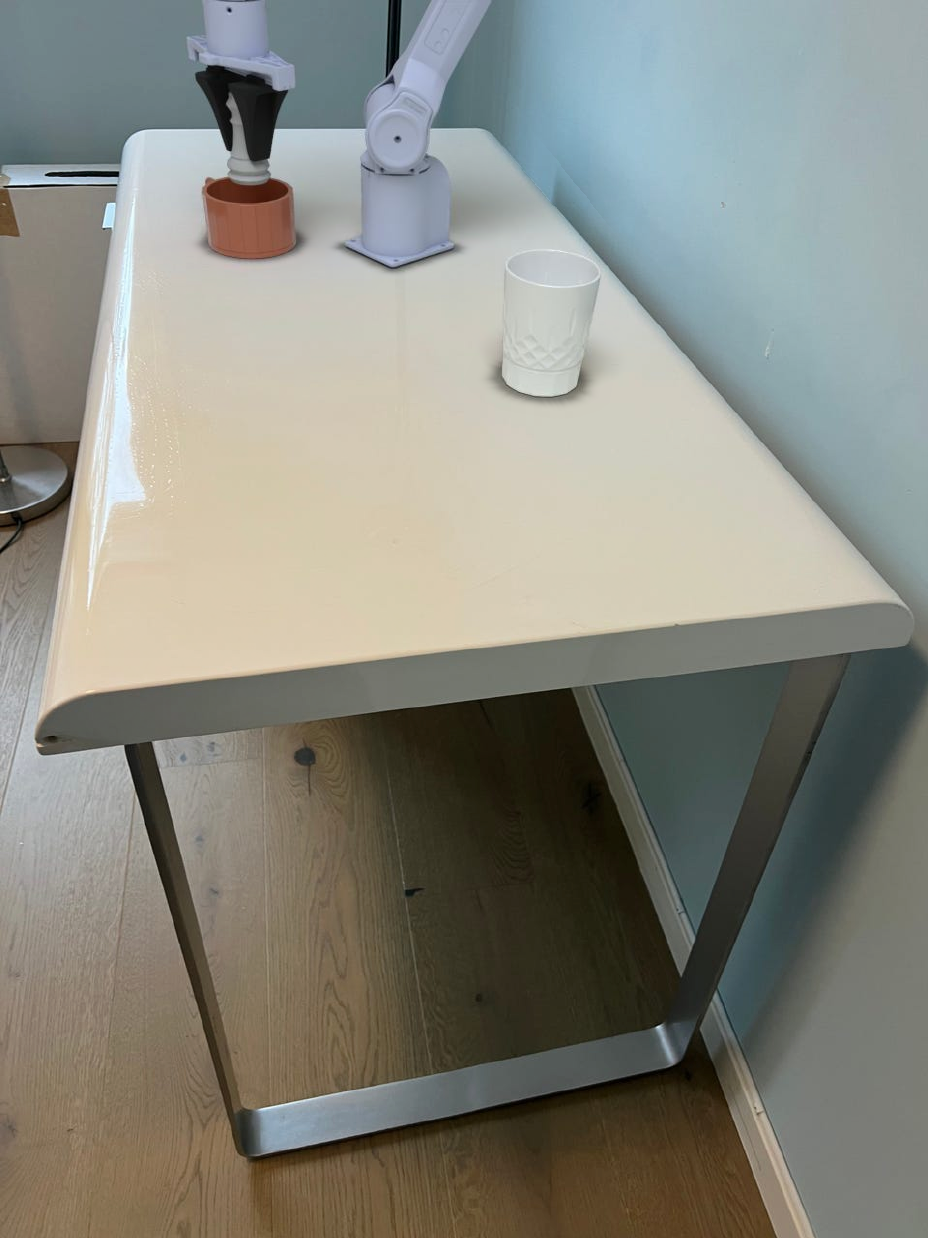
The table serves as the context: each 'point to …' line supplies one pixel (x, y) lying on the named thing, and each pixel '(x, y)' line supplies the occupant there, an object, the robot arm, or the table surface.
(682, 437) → the table surface
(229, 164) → the rook chess piece
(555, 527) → the table surface
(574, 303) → the white cup
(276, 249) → the mug
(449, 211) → the robot arm
